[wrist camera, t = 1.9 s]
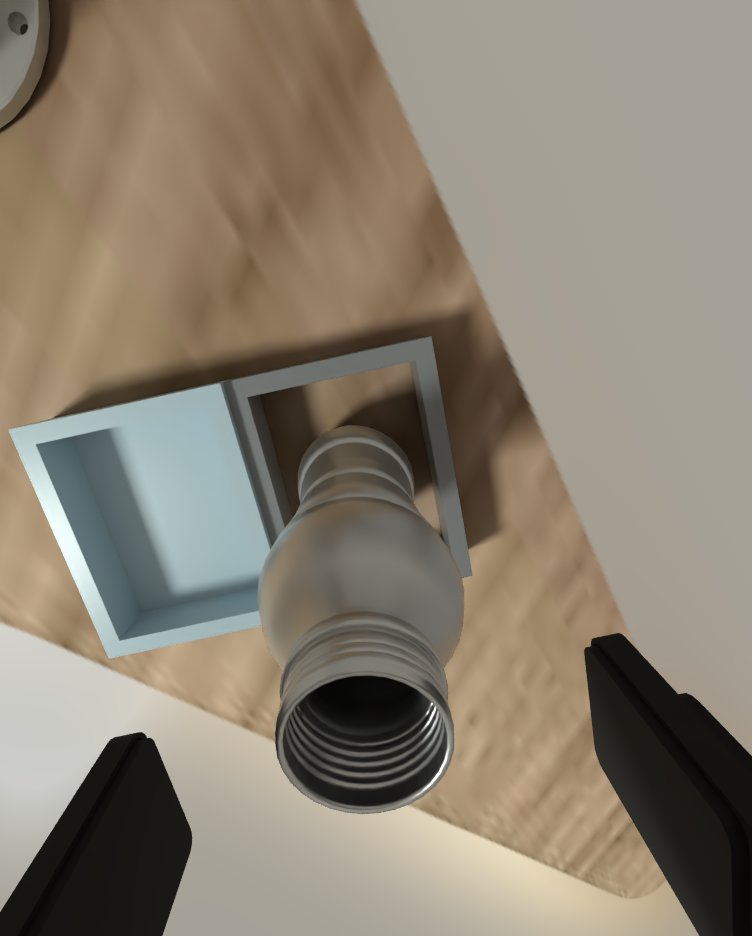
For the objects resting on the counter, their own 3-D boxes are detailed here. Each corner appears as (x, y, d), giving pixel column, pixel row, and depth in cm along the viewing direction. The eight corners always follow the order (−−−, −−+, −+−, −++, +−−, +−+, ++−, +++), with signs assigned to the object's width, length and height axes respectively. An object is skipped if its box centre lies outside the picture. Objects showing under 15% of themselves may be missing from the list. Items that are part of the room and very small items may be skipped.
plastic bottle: (358, 395, 27) (376, 526, 8) (430, 477, 29) (590, 752, 10) (279, 465, 28) (122, 736, 9) (353, 540, 30) (356, 911, 10)
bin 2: (236, 378, 27) (222, 382, 24) (422, 336, 26) (431, 336, 24) (297, 588, 30) (292, 614, 27) (461, 553, 30) (472, 575, 27)
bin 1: (51, 418, 27) (8, 429, 23) (236, 378, 27) (219, 383, 23) (135, 623, 30) (109, 658, 27) (297, 588, 30) (291, 619, 27)
